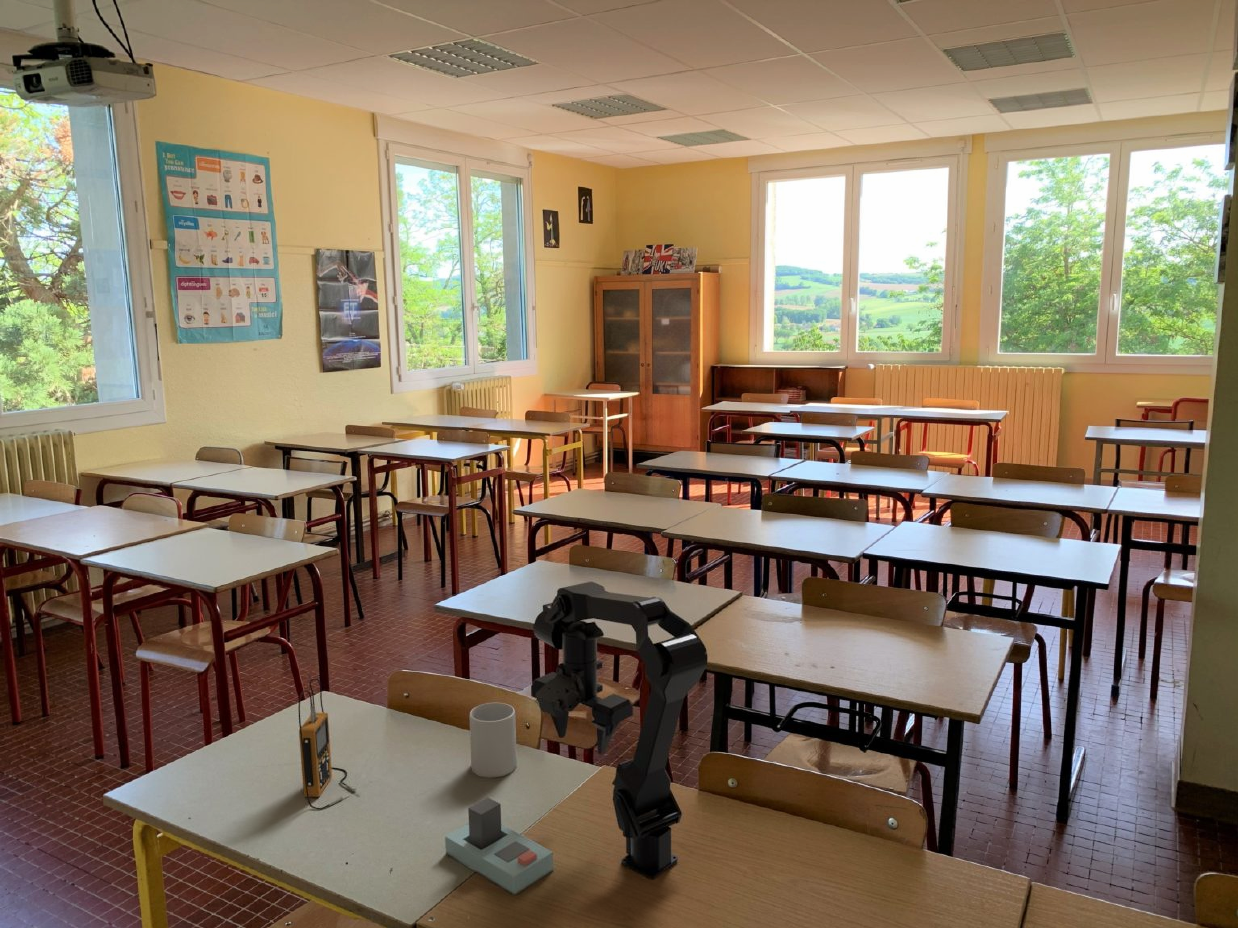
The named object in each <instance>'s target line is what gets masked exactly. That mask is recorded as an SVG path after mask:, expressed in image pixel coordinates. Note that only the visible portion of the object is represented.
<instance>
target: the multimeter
mask: <svg viewBox="0 0 1238 928" xmlns="http://www.w3.org/2000/svg"><path fill="white" fill-rule="evenodd" d="M313 681H318V684H319V696H320V699H319V700H320V708H321V712H317V711H316V706H315V705H316V704H315V698H314V697H315V696H314V695H315V694H314V691H313V688H312V682H313ZM309 688H310V691H309V690H307V689H305V690H303V691H302V692H301V693H300V695H299V698H298V699H299V700H298V708H297V709H298V723H299V730H298V736H299V748H300V749H299V750H300V763H301V766H300V767H301V778H302V788H303V796H304V798H307V802H308V804H309V807H311V808H312V809H315V810H323V809H326V808H328V807H330V806H333V805H334V804H336V803H339V802H341V801H343V799H344V798H346V797H348V796H350V795H351V793H348V794H345V795H344V796H340V797H339V798H336V799H334V800H333V801H331V802H329V803H328V804H327V805H324V806H322V807H316V806H313V805H312V803H311V801H310V798H319V797H320V796H322V793H323V791H324V790H325V789H326V787H327V785H328V784H329V782H330V781H331V780H332V778H333V777H332V776H333V774H332V769H334V770H339V771H343V772H344V773H345V776H344V777H343V778H341V779H340V781H339V782H340V784H342V785H343V786H345V787H346V788H347V789H349V790H351V791H352V792H353V793H358V795H362V794H361V793H360V791H358V790H357V789H356V788H354V787H353V786H351V785H349V784H347V783H344V782H343V781H344V780H345V779H346V778H348V777H347V776H348V772H347V770H345V769H344V768H340V767H333V766H332V757H331V755H332V754H331V742H330V741H331V739H330V725H329V713H328V712H324V706H323V698H322V697H323V696H322V692H323V691H322V682H321V680H320V679H319V678H311V679H310V681H309ZM305 692H307V694H308V695H309V701H310V703H309V704H310V714H309V717H308V718H307V719H306V720H305V722H304V723H303V724H302V722H301V700H302V696H303V694H304V693H305ZM301 724H302V725H301Z"/></svg>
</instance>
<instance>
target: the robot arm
mask: <svg viewBox="0 0 1238 928" xmlns="http://www.w3.org/2000/svg"><path fill="white" fill-rule="evenodd" d="M556 592H557V593H556V595H555V597H554V599H553V600H552V602H549V603H545V604H543V605H542V611H541V612H540V613H539V614H538V615H537V616H536V618H535V620H534V623H533V625H532V631H533V634H534V636H535V638H537V639H538V640H540V641H542V642H544V643H546V644H547V645H549V646H551V647H553V648H554V649H557V650H559V651H560V650H562V662H561V663H559V664H557V667H556V672H554V671H552V672H549V673H546V674H545V675H542V676H539V677H538V678H535V679H534V680H533V681H532V684H531V685H530V693H531V694H530V696H531V697H532V698H535V699H536V702H537V704H538V706H539V708H540V711H541V712H543V713H547V714H549V715H550V716H551V719H552V722H553V725H554V727H555V730H556V733H557V736H558V738H560V739H563V738H565V736H566V733H567V729H568V722H569V721H568V720H569V715H570V713H571V712H573V711H574V710H575V709H576V708H577V707H578V706H579V705H580V704H581V705H583V706H586V707H589V708H590V709H591V708H592V709H591V716H592V718H593V720H592V721H591V722H590V723H591V724H592V725H593V726H594V727H595V728H596V740H597V741H596V742H597V744H596V745H597V746H596V747H597V751H598V752H597V753H598V755H599V756H602V755H603V754H605V753H606V750H607V748H608V746H609V744H610V742H611V740H612V738H613V735H614V733H615V731H616V729H617V728H618V726H619V724H620V723H621V722H623V721H624V720H627V719H628V718H630V717H632V716H633V715H634V706H633V705H634V704H633V702H632V700H631V699H629V698H627V697H624V696H621V695H619V694H615V693H612V694H610V695H608V696H606V697H603V698H602V697H599V696H598V693H601V692H603V687H604V686H603V684H600V683H598V671H599V670H600V669H602V668H603V662H602V661H601V660H598V644H597V643H598V638H602V637H604V636H605V635H604V634H605V633H604V632H603V630H602V629H601V628H600V627H599V626H598V625H597V623H596V621H590V622H587V621H586V620H591V619H595V620H600V621H606V622H611V623H617V624H623V625H628V626H631V627H632V629H633V631H634V632H635V647H636V648H635V649H636V652H637V654H638V655H639V658H641V661H642V662H643V664H644V665H645V668H644V674H645V676H646V679H647V681H648V682H649V685H650V688H651V689H650V692H649V696H648V701H647V705H646V709H645V711H644V712H645V713H644V716H643V721H642V723H641V729H640V733H639V737H638V740H637V745H636V746H635V747H636V748H635V752H634V756H633V758H631V759H629V760H626V761H622V762H621V763H618V765H617V767H616V768H615V777H614V780H613V781H612V782H611V783H612V786H614V787H613V791H612V803H613V807H614V812H615V818H616V821H617V822H616V823H617V826H618V828H619V830H621V831H622V836H623V837H624V838H625V853H626V854H627V855H626V856H624V857H622V858H621V859H620V863H621V864H622V865H623V866H626V867H627V868H629V869H631V870H633V871H635V872H636V873H639V874H641V875H643V876H645V877H647V878H648V879H651V880H653V879H656V878H657V877H658V876H659V875H661V874H662V873H663V872H664V871H666V870H667V869H668V868H670V867H671V866H673V865H674V864H675V863H677V862H678V859H679V857H678V856H677V855H675V854H673V853H672V828H671V826H674V825H677V824H679V823H681V819H682V816H683V813H682V810H681V808H680V806H679V804H678V802H677V800H676V798H675V796H674V794H673V791H672V789H671V784H672V783H671V782H672V781H671V778H670V776H669V774H668V771H667V770H666V765H667V762H668V758H669V753H670V751H671V748H672V744H673V740H674V736H675V733H676V729H677V726H678V721H679V719H680V714H681V711H682V708H683V704H684V700H685V697H686V696H687V695H688V693H689V692H690V691H691V690H692V689H693V688H694V687H695V686H696V685H697V684H698V682H699V681H700V680H701V678H702V676H703V674H704V672H705V669H706V668H707V665H708V661H709V659H708V657H709V656H708V653H707V647H706V646H705V643H704V642H703V641H702V640H701V637H699V635H698V634H697V632H696V630H695V629H694V628H693V626H692V624H690V623H689V622H688V621H687V620H685V619H683V618H682V617H681V616H679V615H678V614H677V613H675V612H674V611H672V610H670V608H669V606H668V605H667V604H666V602H665V601H664V600H663V599H662V598H661V597H656V596H651V597H648V596H641V595H634V594H624V593H617V592H611V591H610V592H609V591H606V589H605V586H603V585H601V584H599V583H597V582H595V581H586V582H582V583H581V582H580V583H578V584H574V585H569V586H563V587H560V588H558V589H557V591H556ZM655 625H657V626H658V627H659V628H661V629H663V631H665V632H666V633H668V634H669V635H671V636H672V637H673V638H670V639H669V638H668V639H666V640H661V641H658V642H654V643H653V641H652V639H651V638H650V636H649V627H652V626H655Z"/></svg>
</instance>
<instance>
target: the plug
mask: <svg viewBox="0 0 1238 928" xmlns="http://www.w3.org/2000/svg"><path fill="white" fill-rule="evenodd" d="M467 809H468V812H467V813H468V824H469V837H470V844H472V845H473V846H475V847H477V848H479V849H480V850H482V849H484V848H486V847H488V846H489V845H491V844H493V843H494V842H496V841H498V840H500V839H501V838H502V832H501V824H502V809H501V803H500V802H498V801H496V800H495V799H492V798H490V797H486V798H483V800H480V801H478V802H477V803H475V804H473V805H471V806H469V807H468V808H467Z"/></svg>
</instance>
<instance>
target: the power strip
mask: <svg viewBox="0 0 1238 928" xmlns="http://www.w3.org/2000/svg"><path fill="white" fill-rule="evenodd" d="M501 832H502V838H501V839H500V840H498V841H496V842H494V843H493V844H491V845H489V846H488V847H486V848H484V849H482V850H480V849H479V848H477V847H475V846H473V845H472V844H470V837H469V823H467V824H465V825H463V826H461V827H459V828H458V829H456V830H454V831H452V832H450V833H448V834H447V835H445V836H444V838H445V840H444V841H445V854H446V855H448V856H449V857H450V858H452V859H454V860H456V861H457V862H460V863H461V864H462V865H463V866H466V867H467V868H469V869H470V870H472V871H474V872H475V873H477V874H479V875H480V876H482V877H484V878H485V879H486V880H489V881H491V882H492V883H493V884H495V885H497V886H498V887H500V888H502V889H503V890H505V891H506V892H508V893H510V894H511V895H513V896H515V895H517V894H519V893H521V892H522V891H523V890H525V889H526V888H528V887H529V886H531V885H532V884H534V883H536V882H537V881H539V880H541V879H542V878H543V877H545V876H546V875H548V874H549V873H551V872H552V871H554V851H552V850H549V849H548V848H546V847H544V846H542V845H540V844H539V843H537V842H535V841H533V840H531V839H529V838H528V837H527V836H524V835H522V834H520V833H519V832H517V831H515V830H513V829H512V828H509V827H507V826H506V825H504V824H502V823H501Z"/></svg>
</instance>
